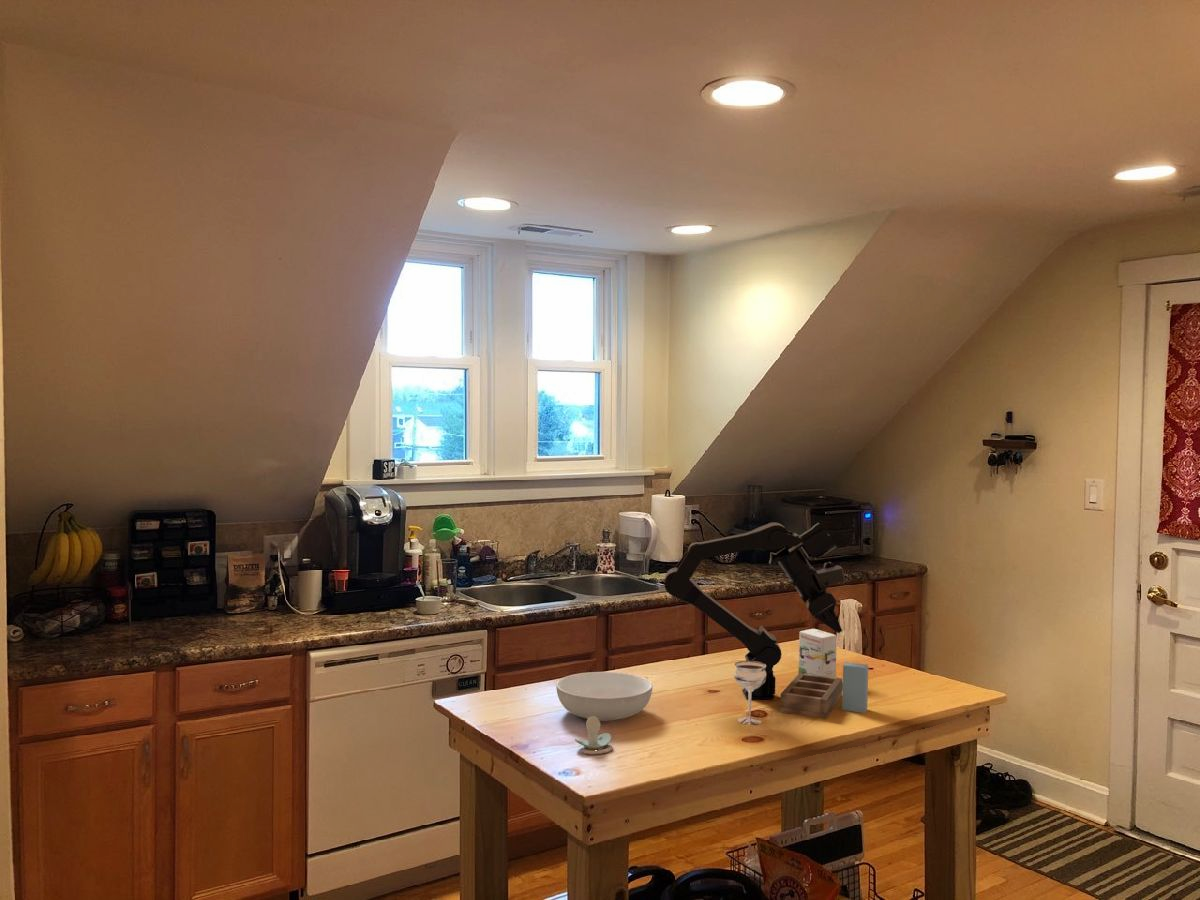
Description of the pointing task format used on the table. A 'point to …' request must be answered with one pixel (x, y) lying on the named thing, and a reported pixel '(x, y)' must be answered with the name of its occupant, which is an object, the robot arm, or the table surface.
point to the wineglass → (750, 683)
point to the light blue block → (855, 687)
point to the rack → (811, 695)
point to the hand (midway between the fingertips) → (837, 627)
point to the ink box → (817, 653)
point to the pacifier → (595, 738)
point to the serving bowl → (604, 694)
